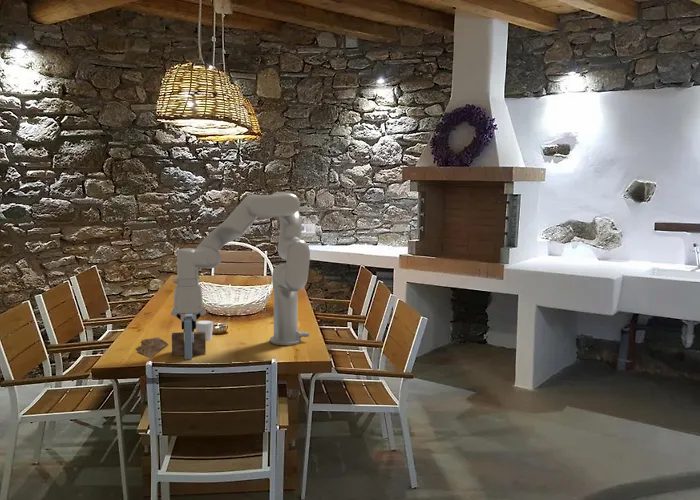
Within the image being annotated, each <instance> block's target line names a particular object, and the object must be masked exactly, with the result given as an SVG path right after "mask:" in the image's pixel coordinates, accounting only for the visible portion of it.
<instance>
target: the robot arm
mask: <svg viewBox="0 0 700 500" xmlns="http://www.w3.org/2000/svg"><path fill="white" fill-rule="evenodd" d="M300 202H301V201H300V199H299V197H298V196H297V195H296V194H293V193H292V192H284V191H276V192H273V193H271V194H267V195H266V194H265V195H263V194H249V195H247V196H246V197H244V199H243V200H242V201H241V202H240V203H239V204H238V205H237V206H236V207H235V208H234V210H233V211H232V212H231V213H230V214H229V215H228V217H226V219H225V220H223V222H222V223H220V224H219V225H218V226H217V227H215V228H214V229H213V230H212V231H211V232H209V233H208V234H207V235H206V236H205V237H204V238H203V240H202V241H201V242H200V243H199V244H198V245H197V247H196V248H193V247H192V248H191V247H190V248H189V247H186V248H185V247H184V248H179V249H177V252H176V267H177V268H176V269H177V271H176V274H177V275H176V276H177V278H174V279H172V282H173V283H174V284H176V285H175V287H174V291H173V292H174V294H173V295H174V296H173V307H172V310H171V313H170V315H171V316H173V317H176V318H177V319H178V320H180V322H181V330H184V320H185V316H186V314H193V319H192V332H193V333H194V332H195V330H196V322H197V321H198V319H199V318H200V317H201V316H204V315H206V314H207V310H206V309H205V307H204V303H203V291H202V286H201V285H200V283H199V269H215V268H217V267H218V266H219V265H220V264H221V262H222V255H221V253H220V252H219V251H220V250H221V249H222V248H223V247H225V245H227V244H229V243H230V242H232V241H235V240H237V239H239V238H241V237H242V236H243V235H244V234H245V233H246V232H247V231H248V229H250V227H251V226H252V225H253V224H254V222H255V221H256V220H257V219H273V218H278V219H279V234H278V235H279V236H278V237H279V238H278V245H277V254H278V256H279V257H280V258H281V259H283V260H285V261H286V263H284V262H283V263H279V264H278V265H276V266H275V267H274V269H273V270H272V274H271V282H272V289H273V335H272V336H271V337H269V343H271V344H273V345H275V346H277V345H278V346H294V345H297V344H300V343H301V342H302V338H309V337H310V332H309V331H303V330H302V331H299V328H298V314H299V313H298V309H299V308H298V304H299V303H298V301H299V299H298V298H299V297H298V292H300V291H302V290H303V289H304V288H305V286H306V284H307V282H308V277H309V270H310V260H311V251H310V246H309V244H308V243H307V242H306V241H305V240H303V239H302V229H303V227H302V225H303V222H302V217H301V213H300V212H299V210H300V206H301V203H300Z"/></svg>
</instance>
